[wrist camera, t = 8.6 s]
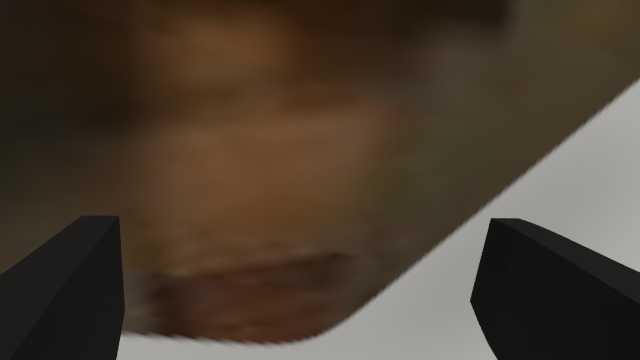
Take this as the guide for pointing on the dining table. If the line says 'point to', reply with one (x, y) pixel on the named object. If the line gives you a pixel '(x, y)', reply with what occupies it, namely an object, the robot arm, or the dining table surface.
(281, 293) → the dining table surface
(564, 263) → the robot arm
